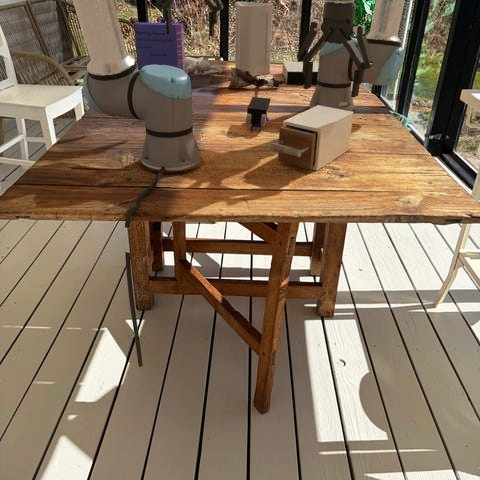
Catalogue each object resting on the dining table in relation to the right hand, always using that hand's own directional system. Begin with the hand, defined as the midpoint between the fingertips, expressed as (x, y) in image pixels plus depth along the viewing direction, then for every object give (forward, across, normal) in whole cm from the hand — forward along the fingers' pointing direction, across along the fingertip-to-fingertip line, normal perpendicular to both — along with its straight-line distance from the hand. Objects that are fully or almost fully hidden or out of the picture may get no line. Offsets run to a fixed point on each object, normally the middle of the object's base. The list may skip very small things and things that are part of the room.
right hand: (330, 92), depth 124 cm
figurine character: (+16, +26, -6) cm, 32 cm away
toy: (+16, +93, -50) cm, 106 cm away
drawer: (+15, 0, +11) cm, 18 cm away
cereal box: (+16, +82, -22) cm, 86 cm away
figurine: (+16, +57, -45) cm, 74 cm away
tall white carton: (+16, +72, -71) cm, 102 cm away
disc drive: (+16, +48, -75) cm, 90 cm away
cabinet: (+16, 0, +5) cm, 17 cm away
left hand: (-9, +49, -2) cm, 50 cm away
